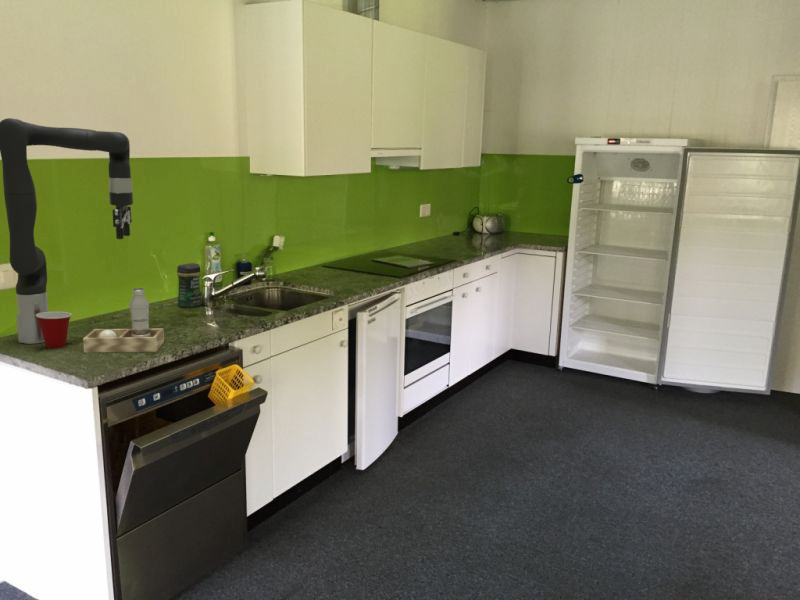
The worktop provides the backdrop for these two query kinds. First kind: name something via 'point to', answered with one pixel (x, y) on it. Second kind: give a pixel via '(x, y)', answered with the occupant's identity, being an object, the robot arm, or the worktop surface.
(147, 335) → the plastic bottle
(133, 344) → the crate
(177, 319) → the worktop surface
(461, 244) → the worktop surface
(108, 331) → the white ball
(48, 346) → the plastic cup
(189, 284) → the coffee jar
